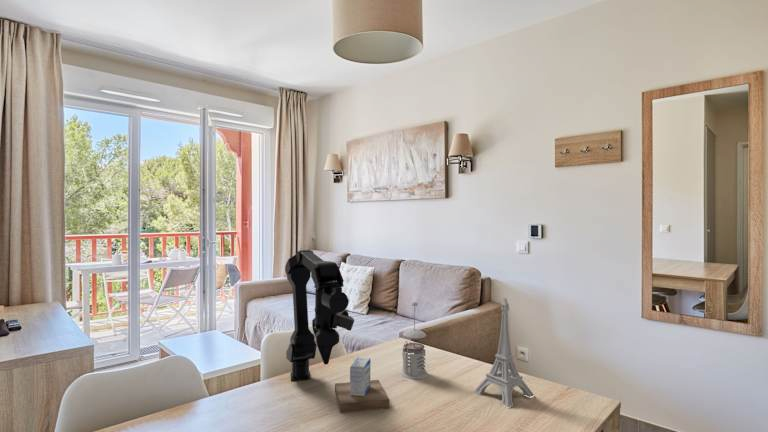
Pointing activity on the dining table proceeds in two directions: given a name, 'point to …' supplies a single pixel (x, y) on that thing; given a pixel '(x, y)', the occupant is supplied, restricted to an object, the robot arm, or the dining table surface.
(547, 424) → the dining table surface
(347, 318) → the robot arm
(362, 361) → the medicine box
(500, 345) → the eiffel tower
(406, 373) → the french press
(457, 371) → the dining table surface
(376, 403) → the walnut block
